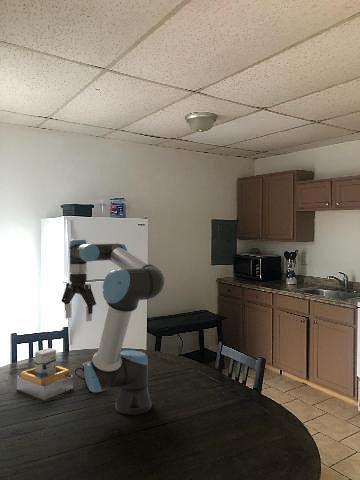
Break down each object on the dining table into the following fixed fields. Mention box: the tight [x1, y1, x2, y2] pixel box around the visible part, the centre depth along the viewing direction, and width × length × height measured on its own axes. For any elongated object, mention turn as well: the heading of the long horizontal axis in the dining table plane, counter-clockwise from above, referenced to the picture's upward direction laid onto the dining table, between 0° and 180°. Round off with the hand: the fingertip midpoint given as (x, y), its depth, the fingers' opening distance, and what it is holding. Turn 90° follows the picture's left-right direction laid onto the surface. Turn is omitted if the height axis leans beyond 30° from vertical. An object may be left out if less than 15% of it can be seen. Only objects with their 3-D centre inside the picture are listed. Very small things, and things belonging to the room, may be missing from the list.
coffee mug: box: [74, 360, 92, 388], centre depth 191 cm, size 12×9×10 cm
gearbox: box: [16, 365, 74, 401], centre depth 186 cm, size 24×16×8 cm, turn 55°
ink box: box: [34, 347, 57, 378], centre depth 184 cm, size 8×5×12 cm, turn 145°
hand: (78, 319), depth 181 cm, fingers open, 13 cm apart
